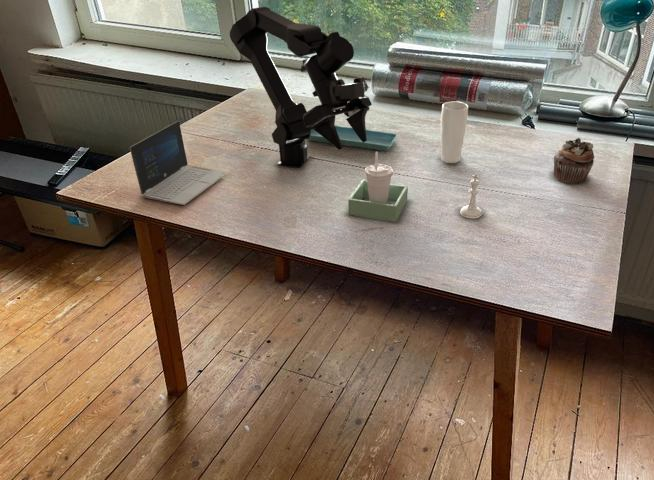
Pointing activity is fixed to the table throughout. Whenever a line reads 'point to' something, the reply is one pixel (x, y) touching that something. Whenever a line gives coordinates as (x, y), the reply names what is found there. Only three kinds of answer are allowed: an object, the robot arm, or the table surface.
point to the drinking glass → (453, 130)
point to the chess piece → (472, 201)
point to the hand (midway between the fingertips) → (353, 145)
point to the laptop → (169, 168)
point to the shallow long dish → (351, 139)
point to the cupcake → (573, 161)
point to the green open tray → (375, 208)
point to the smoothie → (378, 181)
